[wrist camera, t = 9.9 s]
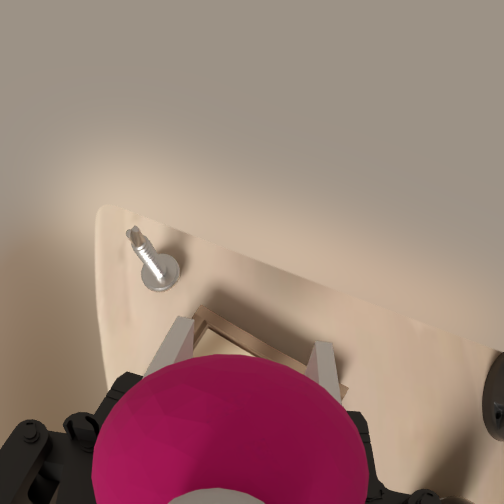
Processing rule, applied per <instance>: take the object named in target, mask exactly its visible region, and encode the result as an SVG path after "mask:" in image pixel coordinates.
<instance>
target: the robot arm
mask: <svg viewBox="0 0 504 504" xmlns="http://www.w3.org/2000/svg"><path fill="white" fill-rule="evenodd" d="M193 338H194V319H189V318H185V317H180V316H178V317H177V318H176V320H175V322H174V323H173V325H172V327H171V329H170V330H169V332H168V334H167V336H166V337H165V339H164V341H163V343H162V344H161V346H160V348H159V350H158V351H157V353H156V355H155V357H154V358H153V360H152V362H151V364H150V366H149V367H148V369H147V371H146V373H145V374H144V376H140V375H137V374H134V373H130V372H126V373H124V374H123V375H121V376H120V377H118V378H117V379H116V381H115V382H114V384H113V385H112V387H111V390H109V392H108V393H107V395H106V398H104V400H103V402H102V403H101V404H100V406H99V408H98V409H97V411H96V413H95V414H94V415H93V414H89V413H87V412H78V413H76V414H72V415H71V416H69V417H68V418H66V420H65V421H64V423H63V427H64V429H65V431H66V433H59V432H53V431H48V430H47V429H46V427H45V425H44V424H42V423H41V422H40V421H37V420H33V419H32V420H25V421H23V422H21V423H19V424H18V426H16V428H15V429H14V430H13V432H12V433H11V435H10V436H9V438H8V439H7V440H6V442H5V443H4V445H3V446H2V448H1V449H0V504H97V503H96V499H95V494H94V489H93V483H92V478H91V477H92V464H93V453H94V446H95V443H96V440H97V438H98V435H99V432H100V430H101V427H102V425H103V423H104V421H105V420H106V418H107V417H108V415H109V413H110V412H111V410H112V408H113V407H114V405H115V404H116V403H117V402H118V401H119V400H120V399H121V398H122V397H123V396H124V394H125V393H126V392H127V391H128V390H130V389H131V388H132V387H133V386H135V385H136V384H137V383H138V382H139V381H141V380H142V379H143V378H144V377H146V376H148V375H150V374H152V373H154V372H156V371H157V370H159V369H161V368H163V367H165V366H168V365H171V364H174V363H178V362H181V361H184V360H187V359H191V358H193ZM304 375H305V376H307V377H309V378H310V379H311V380H313V381H314V382H316V383H317V384H319V385H320V386H322V387H323V388H325V389H326V390H327V391H328V392H329V393H330V394H331V395H332V396H333V397H334V398H335V399H336V400H337V401H338V402H339V403H340V404H341V405H342V403H341V396H340V389H339V382H338V376H337V370H336V363H335V357H334V351H333V346H332V343H330V342H323V341H315V343H314V346H313V349H312V352H311V356H310V359H309V362H308V365H307V368H306V371H305V374H304ZM346 412H347V413H348V415H349V416H350V418H351V419H352V421H353V422H354V424H355V425H356V427H357V429H358V432H359V434H360V437H361V440H362V442H363V445H364V447H365V452H366V458H367V464H368V470H369V481H368V491H367V498H366V501H365V504H442V503H441V500H440V498H439V496H438V495H437V494H436V493H435V492H433V491H431V490H429V489H421V490H417V491H415V492H414V493H413V494H412V495H409V494H404V493H399V492H394V491H391V490H389V489H387V488H385V486H384V485H383V483H381V482H380V481H379V480H378V478H377V475H376V470H375V464H374V458H373V452H372V446H371V444H370V442H371V441H370V436H369V430H368V425H367V421H366V420H365V418H364V417H363V415H362V414H361V413H360V412H356V411H346ZM483 418H484V422H485V426H486V428H487V430H488V432H489V434H490V435H491V436H492V437H493V438H494V439H496V440H498V441H504V352H503V353H502V354H501V355H500V356H499V357H498V358H497V360H496V361H495V362H494V364H493V366H492V368H491V370H490V372H489V374H488V377H487V380H486V384H485V388H484V393H483Z"/></svg>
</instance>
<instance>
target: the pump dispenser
mask: <svg viewBox="0 0 504 504" xmlns="http://www.w3.org/2000/svg"><path fill="white" fill-rule="evenodd" d="M440 500H441V503H442V504H474V503H473V502H471V501H470V500H468V499H466V498H463V497H460V496H450V497H445V498H440Z"/></svg>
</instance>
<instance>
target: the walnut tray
mask: <svg viewBox="0 0 504 504" xmlns="http://www.w3.org/2000/svg"><path fill="white" fill-rule="evenodd" d="M192 319H194V338H193V358H195V357H201V356H207V355H213V354H241V355H247V356H253V357H259V358H265V359H268V360H271V361H274V362H277V363H280V364H283V365H286V366H288V367H290V368H292V369H294V370H296V371H297V372H299V373H301V374H303V375H304V374H305V371H306V368H307V366H306V365H304V364H302V363H300V362H299V361H297V360H295V359H293V358H291V357H289V356H288V355H286V354H284V353H282V352H281V351H279V350H277V349H275V348H273V347H272V346H270V345H268V344H266V343H265V342H263V341H261V340H259V339H258V338H256V337H254V336H253V335H251V334H249V333H247V332H246V331H244V330H242V329H241V328H239V327H237V326H236V325H234V324H232V323H231V322H229V321H227V320H226V319H224V318H222V317H221V316H219V315H217V314H216V313H214V312H213V311H211V310H209V309H208V308H206V307H204V306H203V305H200V307H199V308H198V310H197V311H196V313H195V314H194V316H193V317H192ZM339 389H340V396H341V401H342V400H343V398H344V396H345V394H346V392H347V390H348V387H346V386H344V385H342V384H340V383H339Z"/></svg>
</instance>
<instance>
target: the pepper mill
mask: <svg viewBox="0 0 504 504" xmlns="http://www.w3.org/2000/svg"><path fill="white" fill-rule="evenodd" d="M91 478H92V483H93V489H94V494H95V499H96V503H97V504H365V501H366V498H367V491H368V481H369V470H368V464H367V458H366V452H365V447H364V445H363V442H362V440H361V437H360V434H359V432H358V429H357V427H356V425H355V424H354V422H353V421H352V419H351V418H350V416H349V415H348V413H347V412H346V410H345V409H344V407H343V406H342V405H341V404H340V403H339V402H338V401H337V400H336V399H335V398H334V397H333V396H332V395H331V394H330V393H329V392H328V391H327V390H326V389H325V388H323V387H322V386H320V385H319V384H317V383H316V382H314V381H313V380H311V379H310V378H309V377H307V376H305V375H303V374H301V373H299V372H297V371H296V370H294V369H292V368H290V367H288V366H286V365H283V364H280V363H277V362H274V361H271V360H268V359H265V358H259V357H253V356H247V355H241V354H213V355H207V356H201V357H195V358H191V359H187V360H184V361H181V362H178V363H174V364H171V365H168V366H165V367H163V368H161V369H159V370H157V371H156V372H154V373H152V374H150V375H148V376H146V377H144V378H143V379H142V380H141V381H139V382H138V383H137V384H136V385H135V386H133V387H132V388H131V389H130V390H128V391H127V392H126V393H125V394H124V396H123V397H122V398H121V399H120V400H119V401H118V402H117V403H116V404H115V405H114V407H113V408H112V410H111V412H110V413H109V415H108V417H107V418H106V420H105V421H104V423H103V425H102V427H101V430H100V432H99V435H98V438H97V440H96V443H95V446H94V453H93V464H92V477H91Z"/></svg>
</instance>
